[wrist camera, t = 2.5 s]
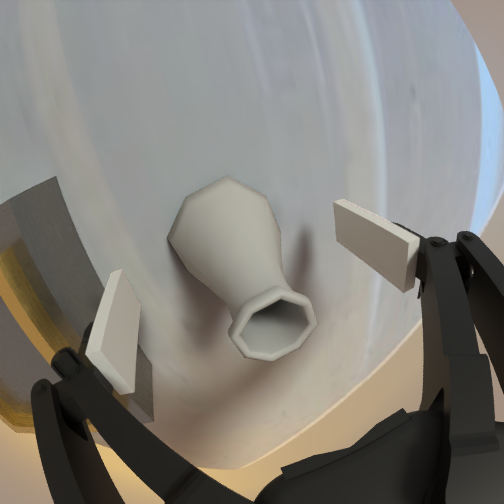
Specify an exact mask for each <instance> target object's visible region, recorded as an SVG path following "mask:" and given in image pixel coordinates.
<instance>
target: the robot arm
mask: <svg viewBox="0 0 504 504" xmlns="http://www.w3.org/2000/svg"><path fill="white" fill-rule="evenodd" d="M333 206H334V216H335V227H336V239H337V242H339V243H340V244H341V245H343V246H344V247H345V248H347V249H348V250H349V251H351V252H352V253H353V254H355V255H356V256H357V257H359V258H360V259H361V260H363V261H364V262H365V263H366V264H368V265H369V266H370V267H372V268H373V269H374V270H375V271H377V272H378V273H379V274H381V275H382V276H383V277H384V278H386V279H387V280H388V281H389V282H391V283H392V284H393V285H394V286H396V287H397V288H398V289H399V290H400V291H402V292H403V293H404V292H406V291H408V290H410V289H412V288H413V287H414V284H415V277H417V278H418V279H420V280H421V281H420V287H419V292H418V298H417V299H419V298H420V296H421V307H422V322H423V349H424V365H423V367H424V368H423V393H422V401H421V405H420V408H419V411H414V412H410V413H406V411H405V410H404V409H403V408H402V409H400V410H399V411H397V412H396V413H394V414H392V415H391V416H389V417H388V418H386V419H384V420H383V421H381V422H379V423H378V424H376V425H375V426H374V427H373V428H372V429H371V430H370V431H369V432H368V433H367V434H365V435H364V436H363V437H362V438H361V439H360V440H358V441H357V442H356V443H355V444H354V445H352V446H351V447H349V448H345V449H341V450H337V451H333V452H328V453H323V454H318V455H313V456H311V457H308V458H306V459H303V460H301V461H298V462H295V463H293V464H290V465H287V466H284V467H281V470H282V473H283V474H281V475H279V476H278V477H276V478H275V479H274V480H272V481H271V482H270V483H269V484H267V485H266V486H265V487H264V489H263V490H262V491H261V492H260V493H259V495H258V496H257V497H256V499H255V501H254V502H253V501H251V500H249V499H247V498H245V497H243V496H242V495H240V494H238V493H236V492H234V491H233V490H231V489H229V488H227V487H226V486H224V485H222V484H221V483H219V482H218V481H216V480H214V479H213V478H211V477H209V476H208V475H207V474H205V473H204V472H202V471H201V470H199V469H198V468H197V467H195V466H194V465H192V464H191V463H189V462H188V461H187V460H185V459H184V458H183V457H181V456H180V455H179V454H177V453H176V452H175V451H174V450H172V449H171V448H170V447H169V446H167V445H166V444H165V443H164V442H162V441H161V440H160V439H159V438H158V437H156V436H155V435H154V434H153V433H152V432H151V431H149V430H148V429H147V428H146V427H145V426H144V425H143V424H142V423H141V422H140V421H138V420H137V419H136V418H135V417H134V416H133V415H132V414H131V413H130V412H129V411H128V410H127V409H126V408H125V407H124V406H123V405H122V404H121V403H120V402H119V401H118V400H117V399H116V398H115V397H114V396H113V388H114V389H115V390H116V391H117V392H118V393H119V394H120V395H123V394H128V393H133V392H135V370H136V354H137V341H138V330H139V321H140V312H141V305H140V303H139V301H138V299H137V297H136V295H135V293H134V291H133V289H132V288H131V286H130V284H129V282H128V279H127V277H126V275H125V273H124V271H123V269H120V270H117V271H114V272H111V274H110V277H109V279H108V282H107V285H106V288H105V291H104V293H103V296H102V299H101V302H100V305H99V308H98V311H97V314H96V318H95V321H94V322H90V323H89V325H88V326H87V328H86V329H85V331H84V334H83V339H82V341H81V344H80V347H79V351H78V354H77V353H76V352H75V350H74V349H73V348H71V347H65V348H62V349H60V350H59V351H58V352H57V353H56V354H55V355H54V356H53V358H52V360H51V368H52V369H53V370H54V371H55V372H56V373H57V375H58V376H59V377H60V378H61V379H62V380H61V381H59V382H57V383H55V384H52V383H51V382H50V381H49V380H47V379H40V380H39V381H37V382H36V383H35V384H34V385H33V387H32V390H31V394H30V397H31V406H32V415H33V422H34V428H35V434H36V439H37V444H38V449H39V454H40V458H41V462H42V466H43V470H44V473H45V477H46V480H47V484H48V487H49V490H50V493H51V496H52V499H53V501H54V504H125V502H124V501H123V499H122V498H121V496H120V494H119V492H118V490H117V488H116V487H115V485H114V483H113V481H112V479H111V478H110V475H109V473H108V471H107V469H106V467H105V465H104V463H103V461H102V459H101V456H100V454H99V452H98V450H97V447H96V445H95V442H94V440H93V437H92V435H91V432H90V430H89V427H88V424H87V422H86V419H89V420H90V422H91V423H92V424H93V426H94V427H95V428H96V430H97V431H98V432H99V434H100V435H101V436H102V437H103V439H104V440H105V441H106V442H107V443H108V445H109V446H110V447H111V448H112V449H113V450H114V451H115V453H116V454H117V455H118V456H119V457H120V458H121V459H122V461H123V462H124V463H125V464H126V465H127V466H128V467H129V468H130V469H131V470H132V471H133V472H134V473H135V474H136V475H137V476H138V477H139V478H140V479H141V480H142V481H143V482H144V483H145V484H146V485H147V486H148V487H149V488H150V489H152V490H153V491H154V492H155V493H156V494H157V495H158V496H159V497H160V498H161V499H163V500H164V502H165V504H504V422H497V421H495V414H494V397H493V386H492V378H491V370H490V364H489V359H488V356H487V355H486V354H480V353H479V348H478V343H477V338H476V332H475V327H476V329H477V331H478V333H479V335H480V337H481V339H482V341H483V344H484V346H485V348H486V350H487V352H488V355H489V357H490V360H491V362H492V365H493V367H494V370H495V373H496V375H497V378H498V381H499V383H500V386H501V388H502V391H503V394H504V266H503V264H502V263H501V262H500V261H499V259H498V258H497V257H496V256H495V255H494V254H493V253H492V252H491V250H490V249H489V248H488V247H487V246H486V245H485V244H484V243H483V242H482V241H481V239H480V238H479V237H478V236H477V235H475V234H474V233H471V232H470V231H469V232H468V231H461V232H459V233H457V240H456V242H450V243H449V242H448V241H447V240H445V239H444V238H441V237H429V238H427V239H426V238H424V237H423V236H421V235H419V234H417V233H415V232H413V231H411V230H410V229H408V228H406V227H404V226H402V225H400V224H398V223H394V222H390V221H388V220H386V219H384V218H382V217H380V216H378V215H376V214H374V213H372V212H370V211H368V210H366V209H364V208H362V207H359V206H357V205H355V204H353V203H351V202H349V201H347V200H345V199H341V200H337V201H334V202H333ZM472 271H473V272H474V273H473V274H472ZM474 325H475V327H474Z"/></svg>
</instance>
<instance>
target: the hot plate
mask: <svg viewBox="0 0 504 504" xmlns="http://www.w3.org/2000/svg"><path fill="white" fill-rule="evenodd" d="M104 291H105V289H104V287H103V285H102V283H101V281H100V279H99V277H98V276H97V274H96V272H95V270H94V268H93V266H92V264H91V262H90V259H89V257H88V255H87V253H86V251H85V249H84V247H83V245H82V242H81V240H80V238H79V236H78V233H77V231H76V229H75V226H74V224H73V221H72V219H71V216H70V214H69V211H68V209H67V206H66V204H65V201H64V198H63V195H62V193H61V190H60V187H59V184H58V181H57V178H56V176H55V177H53V178H50V179H48V180H46V181H44V182H42V183H40V184H38V185H36V186H34V187H32V188H30V189H28V190H26V191H24V192H22V193H20V194H18V195H16V196H14V197H12V198H11V199H9V200H7V201H6V202H4V203H3V204H1V205H0V419H1V420H2V421H3V422H4V423H5V424H7V425H8V426H9V427H10V428H11V429H13V430H14V431H15V432H18V433H35V428H34V422H33V415H32V406H31V397H30V394H31V390H32V387H33V385H34V384H35V383H36V382H37V381H39V380H40V379H47V380H49V381H50V382H51V383H52V384H55V383H57V382H59V381H61V380H62V379H61V378H60V377H59V376H58V375H57V373H56V372H55V371H54V370H53V369H52V368H51V360H52V358H53V356H54V355H55V354H56V353H57V352H58V351H59V350H60V349H62V348H65V347H71V348H73V349H74V350H75V352H76V353H77V354H78V351H79V347H80V344H81V341H82V339H83V334H84V331H85V329H86V328H87V326H88V325H89V323H90V322H94V321H95V318H96V314H97V311H98V308H99V305H100V302H101V299H102V296H103V293H104ZM113 396H114V397H115V398H116V399H117V400H118V401H119V402H120V403H121V404H122V405H123V406H124V407H125V408H126V409H127V410H128V411H129V412H130V413H131V414H132V415H133V416H134V417H135V418H136V419H137V420H138V421H140V422H141V423H148V422H153V421H154V413H153V391H152V364H151V363H150V361H149V360H148V358H147V357H146V355H145V354H144V353H143V351H142V350H141V348H140V347H139V345H138V344H137V354H136V370H135V392H133V393H128V394H123V395H120V394H119V393H118V392H117V391H116V390H115V389H114V388H113ZM86 422H87V424H88V427H89V430H90V432H98V431H97V430H96V428H95V427H94V426H93V424H92V423H91V422H90V420H89V419H86Z"/></svg>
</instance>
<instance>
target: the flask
mask: <svg viewBox="0 0 504 504" xmlns="http://www.w3.org/2000/svg"><path fill="white" fill-rule="evenodd" d="M167 238H168V240H169V241H170V243H171V245H172V246H173V248H174V250H175V251H176V253H177V254H178V256H179V258H180V259H181V261H182V262H183V264H184V265H185V267H186V269H187V270H188V272H190V273H191V274H192V275H193V276H194V277H196V278H197V279H198V280H200V281H201V282H202V283H204V284H205V285H206V286H207V287H208V288H210V289H211V290H212V291H213V292H214V293H215V294H216V295H218V296H219V297H220V298H221V299H222V300H223V301H224V302H225V303H226V304H227V306H228V309H229V311H230V314H231V317H232V319H233V322H232V324H231V326H230V327H229V329H228V334H229V337H230V338H231V340H232V341H233V343H234V344H235V345H236V347H237V348H238V349H239V351H240V352H241V353H242V355H243V356H244V357H245V358H250V359H255V360H261V361H266V362H274V361H276V360H278V359H280V358H282V357H284V356H285V355H287V354H289V353H291V352H293V351H295V350H297V349H299V348H300V347H301V346H302V345H303V343H304V342H305V341H306V339H307V338H308V337H309V335H310V334H311V333H312V331H313V330H314V329H315V327H316V326H317V325H318V321H317V319H316V316H315V313H314V310H313V307H312V305H311V302H310V300H309V299H308V297H306V296H305V295H302V294H299V293H297V292H294V291H292V289H291V288H290V287H289V285H288V284H287V282H286V281H285V279H284V276H283V267H282V256H281V232H280V229H279V227H278V224H277V222H276V219H275V217H274V214H273V212H272V210H271V207H270V205H269V202H268V200H267V198H266V195H264V194H262V193H260V192H258V191H256V190H254V189H252V188H250V187H248V186H246V185H244V184H242V183H240V182H239V181H237V180H235V179H233V178H231V177H229V176H226V177H224V178H222V179H220V180H218V181H216V182H214V183H212V184H210V185H208V186H206V187H204V188H202V189H200V190H199V191H197V192H195V193H193V194H191V195H189V196H187V197H186V198H185V200H184V202H183V204H182V206H181V208H180V210H179V212H178V215H177V217H176V219H175V221H174V223H173V225H172V227H171V230H170V232H169V234H168V236H167Z"/></svg>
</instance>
